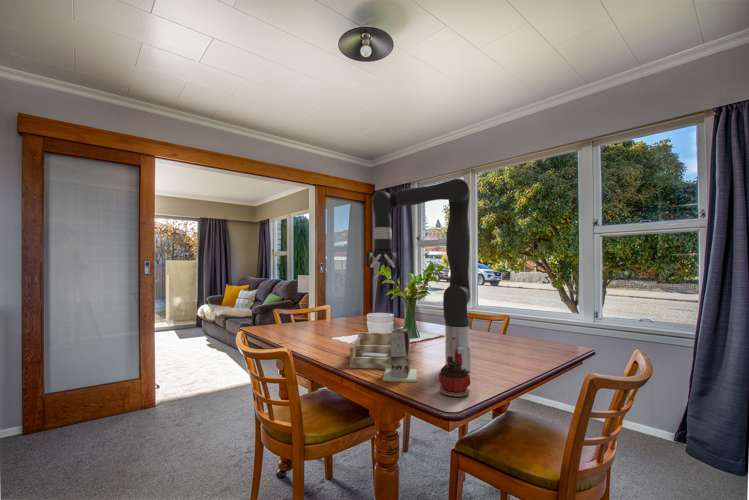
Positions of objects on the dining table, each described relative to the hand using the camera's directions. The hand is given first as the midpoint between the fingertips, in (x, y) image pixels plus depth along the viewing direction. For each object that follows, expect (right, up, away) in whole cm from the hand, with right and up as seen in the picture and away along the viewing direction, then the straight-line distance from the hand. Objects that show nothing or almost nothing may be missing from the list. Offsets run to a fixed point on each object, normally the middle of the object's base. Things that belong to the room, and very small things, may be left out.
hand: (383, 276), depth 151 cm
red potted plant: (+22, -35, -36) cm, 55 cm away
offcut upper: (-3, -34, -5) cm, 35 cm away
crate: (-3, -36, +1) cm, 36 cm away
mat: (+6, -36, -19) cm, 40 cm away
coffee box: (+6, -35, -19) cm, 40 cm away
